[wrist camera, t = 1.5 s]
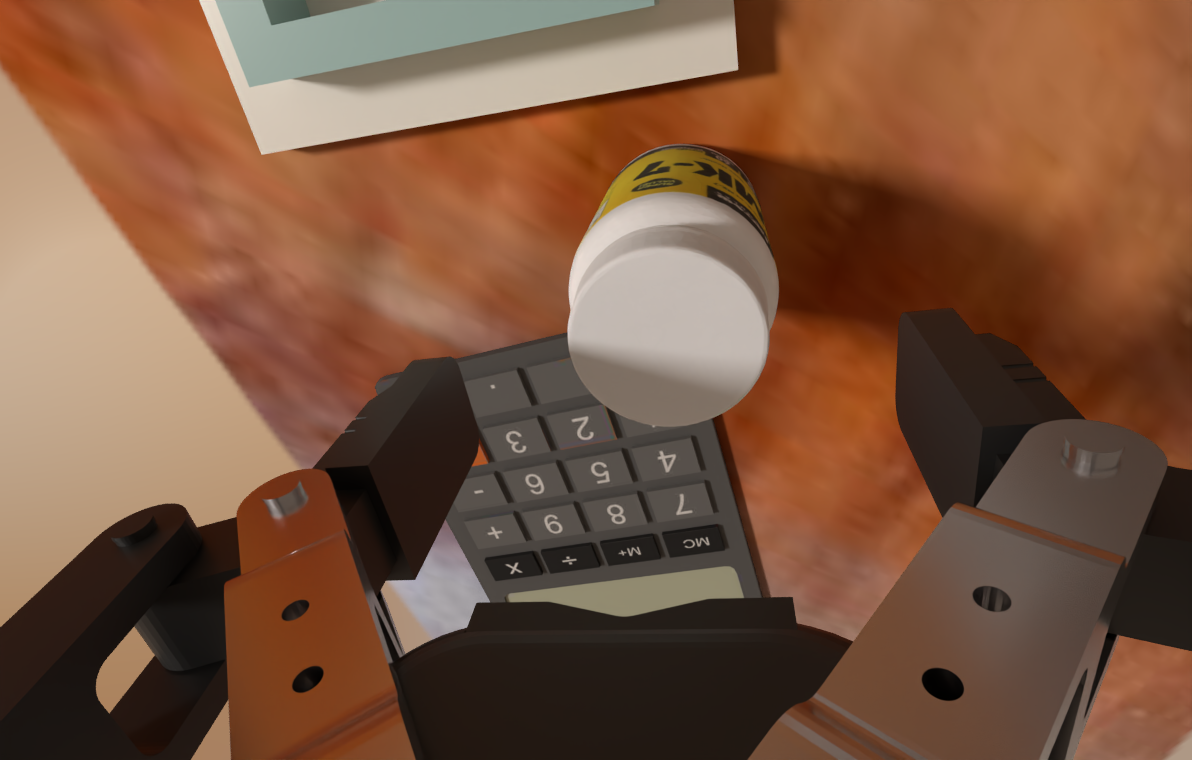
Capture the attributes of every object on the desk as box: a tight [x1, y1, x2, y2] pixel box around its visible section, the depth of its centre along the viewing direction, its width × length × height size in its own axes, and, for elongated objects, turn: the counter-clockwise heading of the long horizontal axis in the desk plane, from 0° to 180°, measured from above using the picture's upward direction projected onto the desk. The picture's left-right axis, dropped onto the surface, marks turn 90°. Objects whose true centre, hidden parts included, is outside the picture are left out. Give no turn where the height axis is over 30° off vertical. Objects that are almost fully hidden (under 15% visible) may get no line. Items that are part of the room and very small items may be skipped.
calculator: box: [375, 332, 763, 616], centre depth 26 cm, size 12×1×15 cm
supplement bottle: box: [568, 144, 779, 427], centre depth 16 cm, size 5×5×8 cm
